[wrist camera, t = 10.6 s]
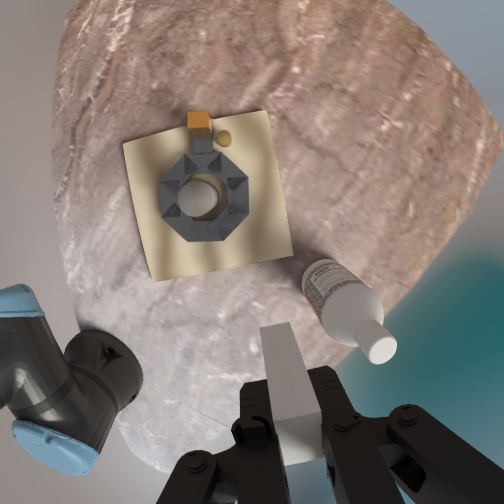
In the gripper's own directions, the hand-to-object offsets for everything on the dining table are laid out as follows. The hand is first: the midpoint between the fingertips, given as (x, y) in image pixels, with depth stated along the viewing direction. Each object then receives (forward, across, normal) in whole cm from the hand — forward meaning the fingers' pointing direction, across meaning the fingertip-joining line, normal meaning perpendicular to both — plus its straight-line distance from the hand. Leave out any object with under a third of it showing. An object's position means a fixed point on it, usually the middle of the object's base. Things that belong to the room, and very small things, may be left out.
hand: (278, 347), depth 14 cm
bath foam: (+27, +9, -7) cm, 29 cm away
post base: (+26, -5, +8) cm, 28 cm away
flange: (+25, -5, +10) cm, 27 cm away
